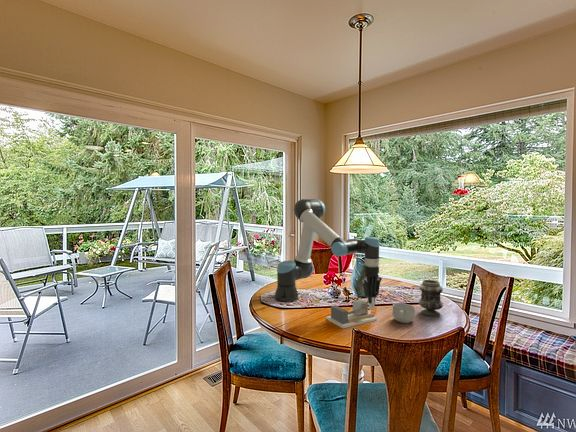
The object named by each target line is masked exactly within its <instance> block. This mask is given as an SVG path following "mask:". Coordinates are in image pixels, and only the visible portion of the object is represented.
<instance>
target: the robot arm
mask: <svg viewBox="0 0 576 432" xmlns="http://www.w3.org/2000/svg"><path fill="white" fill-rule="evenodd" d="M293 213H294V215H295V217H296V218H297V220H299V222H301V223H302V229H301V234H300V240H299V245H298V251H297V255H296V256H294V259H293V260H284V261H280V262H279V263H277V266H276V267H277V269H276V274H277V275H276V278H277V283H276V285H277V286H276V290H275V292H274V299H276V300H275V301H277V300H279V301H278V302H281V301H291V302H295V301H294V300H296V301H297V300H298V299H299V293H298V290H297V286H296V282H297V281H298V280H302V279H307V278H309V277H311V276H312V275H313V273H314V270H315V268H314V263H313V260H312V258H311V256H312V250H313V245H314V240H315V236H316V235H318V237H320V238H321V240H323V241H324V242H325V243H326V244H327V245H328V246H329V247H330V249H331V252H332V254H333V255H334V256H335V257H344V256H348V255H353V254H362V255H364V273H365V274H364V278H362V279H361V280H360V281H361V282H362V287H363V292H364V293H363V294H364V296H365V297H367V303H368V308H369V309H370V310H375V303H376V298H377V297H378V295H379V291H380V287H381V282H382V280H383V278H382V277H380V276H379V273H380V238H379V237H375V236H366V237H364V239H355V238H348V239H347V240H344V239H343V238H342V237H341V236H339V234H337V233H336V232H335V231H334V230H333V229H332V228H331V227H329V226H328V225H327V224H326V223H325V222H324V221H323V220H321V218H322V217H323V216H324V215H326V214H325V213H326V205H325V204H324V202H323V201H322V200H320V199H316V198H302V199H299V200H297V201H296V202H295V203H294V206H293Z"/></svg>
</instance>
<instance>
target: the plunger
mask: <svg viewBox="0 0 576 432" xmlns="http://www.w3.org/2000/svg"><path fill="white" fill-rule="evenodd" d="M352 310H353V314H354V315H356V316H363V315H367V314H369V312H368V311H371V309H369V303H368V301H365V300H362V299H356V300H352Z"/></svg>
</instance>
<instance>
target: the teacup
mask: <svg viewBox="0 0 576 432" xmlns="http://www.w3.org/2000/svg"><path fill="white" fill-rule="evenodd" d="M415 312H416V307H415V306H414V305H411V304H409V303H408V304H407V303H404V302H395V303H393V304H392V317H393V318H394V319H395V320H396V322H398V323H402V324H409V323H411V322H412V321H414V318H415Z"/></svg>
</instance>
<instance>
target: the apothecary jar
mask: <svg viewBox="0 0 576 432" xmlns="http://www.w3.org/2000/svg"><path fill="white" fill-rule="evenodd" d="M440 283H441V282H439V281H437V280H435V279H434V280H433V279H423V280H422V282H421V283H420V284H419V287H418V288H419V291H421V297H420V299H419V300H418V304H419V306H420V307H421V308H423V310H421V312H420V314H421V315H423V316H427V317H432V318H433V317H434V318H435V317H440V316H441V315H442V314H441V312H439V311H438V310H441V309H443V307H444V304H443V301H442V300H441V293H442V292H443V291H444V289H443V287H442V286H441V284H440Z"/></svg>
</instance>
